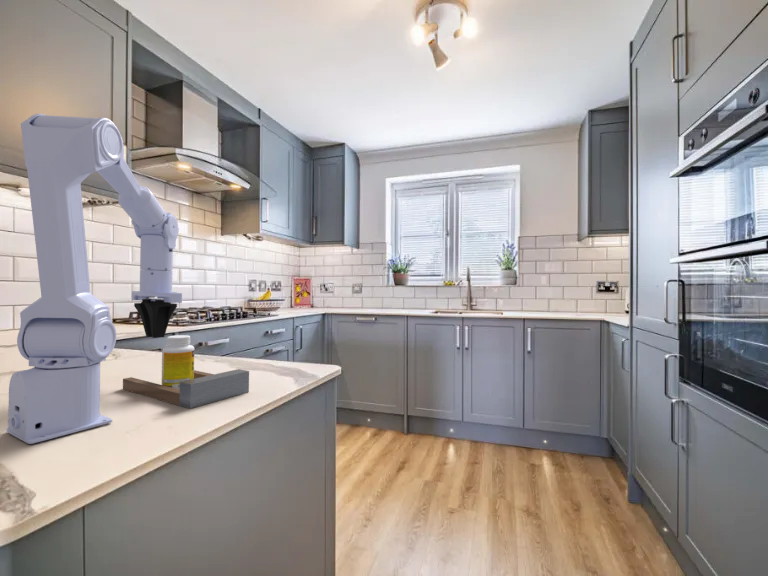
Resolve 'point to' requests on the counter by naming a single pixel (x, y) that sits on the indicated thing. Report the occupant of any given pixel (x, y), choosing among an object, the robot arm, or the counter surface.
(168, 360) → the supplement bottle
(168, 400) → the guide rails
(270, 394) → the counter surface
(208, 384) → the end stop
